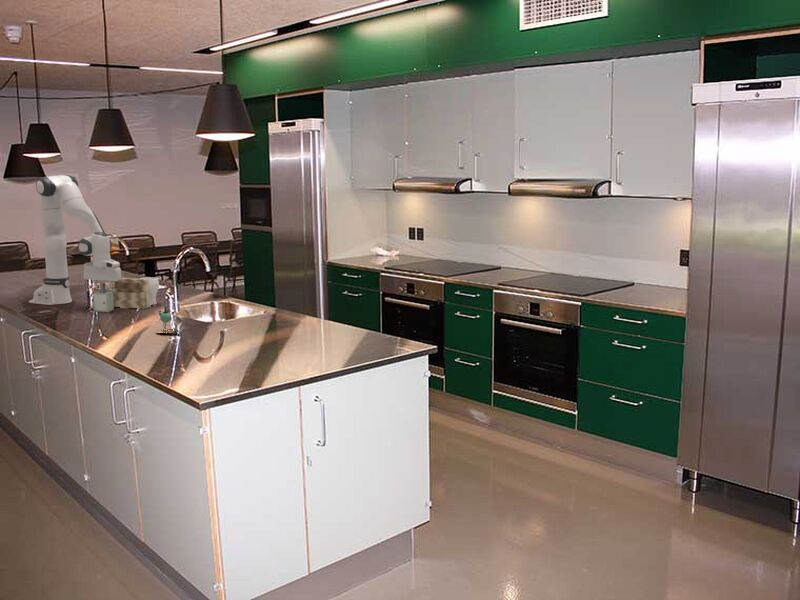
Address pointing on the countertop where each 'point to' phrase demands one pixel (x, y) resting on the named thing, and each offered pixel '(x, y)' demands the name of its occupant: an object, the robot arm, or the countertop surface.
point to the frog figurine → (166, 320)
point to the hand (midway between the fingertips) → (102, 288)
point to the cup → (152, 289)
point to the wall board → (131, 293)
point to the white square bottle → (103, 299)
